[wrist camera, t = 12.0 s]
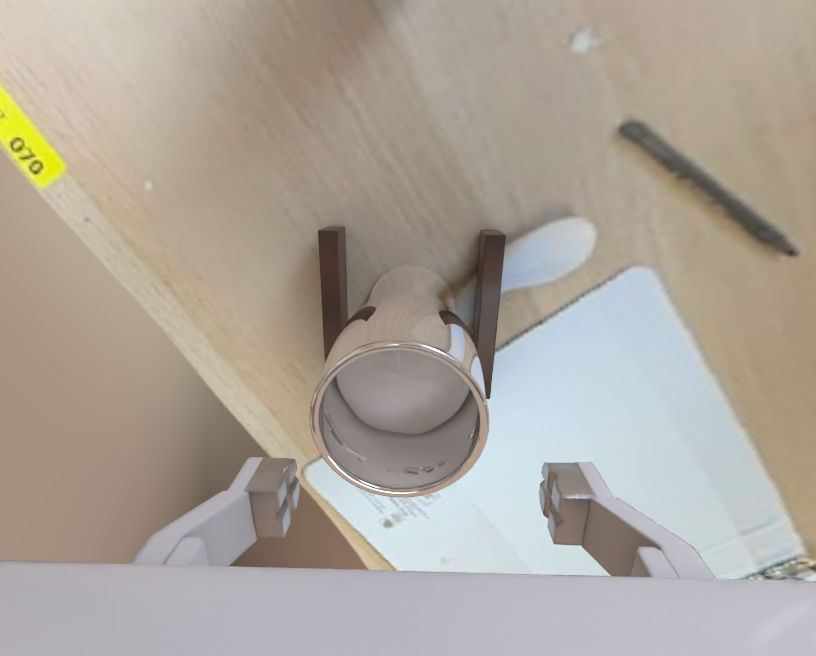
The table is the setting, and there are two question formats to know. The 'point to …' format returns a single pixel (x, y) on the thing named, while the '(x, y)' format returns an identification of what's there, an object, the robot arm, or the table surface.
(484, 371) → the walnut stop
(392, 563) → the table surface
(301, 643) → the robot arm
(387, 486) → the beer glass
